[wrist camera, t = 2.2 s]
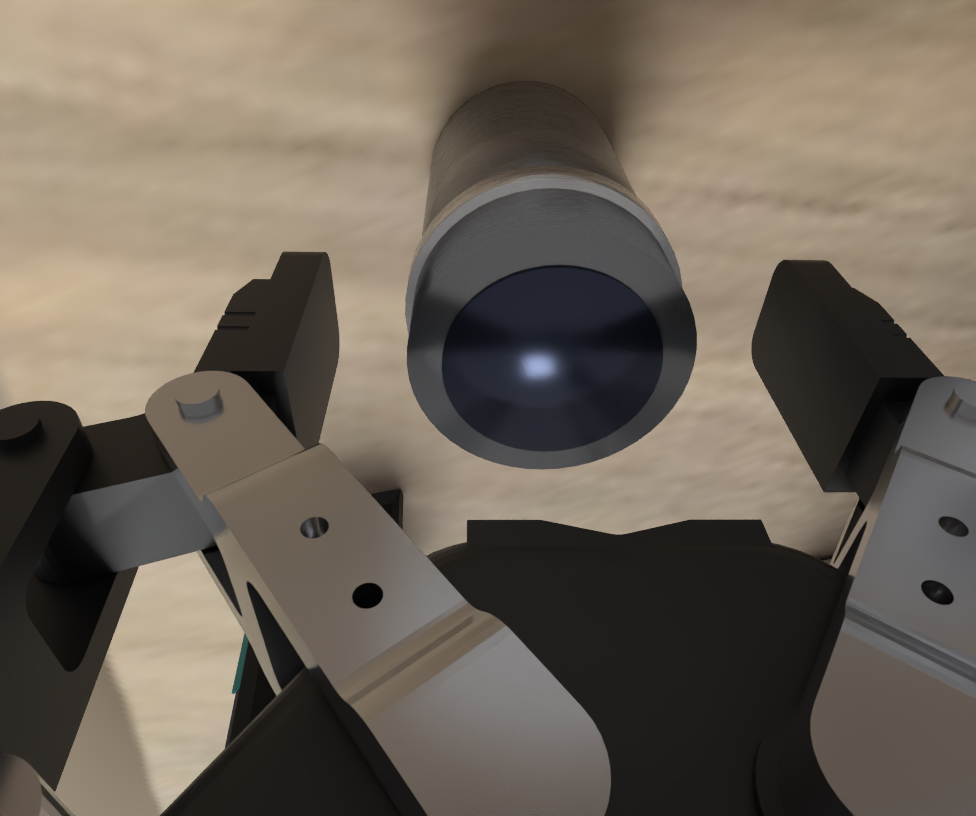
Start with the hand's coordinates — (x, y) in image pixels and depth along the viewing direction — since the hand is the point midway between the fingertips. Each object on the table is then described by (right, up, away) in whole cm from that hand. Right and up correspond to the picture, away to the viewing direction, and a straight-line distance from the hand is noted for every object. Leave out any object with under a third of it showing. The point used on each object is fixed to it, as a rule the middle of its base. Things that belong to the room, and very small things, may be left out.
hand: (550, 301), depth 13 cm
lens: (0, +4, +6) cm, 8 cm away
